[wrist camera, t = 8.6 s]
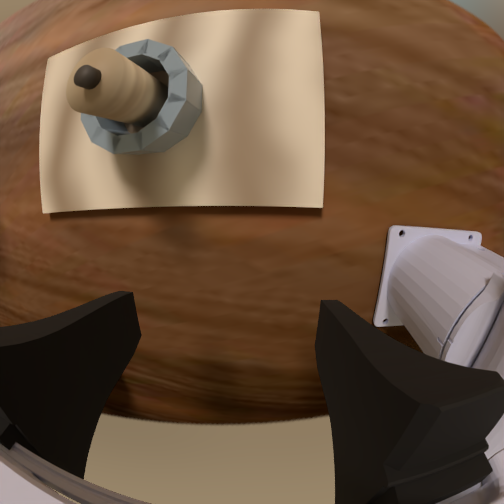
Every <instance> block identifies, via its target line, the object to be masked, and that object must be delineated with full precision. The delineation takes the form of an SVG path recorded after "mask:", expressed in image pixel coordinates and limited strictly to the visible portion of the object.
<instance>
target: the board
mask: <svg viewBox="0 0 504 504" xmlns="http://www.w3.org/2000/svg"><path fill="white" fill-rule="evenodd" d="M145 39H150V40H153V41H156V42H160V43H163V44H166V45H169V46H173V47H174V48H175V49H176V51H177V52H178V53H179V54H180V55H181V56H182V57H183V58H184V60H185V61H186V62H187V63H188V64H189V65H190V67H191V69H192V70H193V72H194V73H195V75H196V76H197V78H198V79H199V81H200V83H201V84H202V112H201V114H200V116H199V117H198V119H197V121H196V122H195V124H194V126H193V128H192V129H191V131H190V133H189V135H188V137H186V138H184V139H183V140H181V141H180V142H178V143H177V144H175V145H174V146H172V147H171V148H170V149H168V150H167V151H165V152H159V153H149V154H140V155H134V154H112V153H111V152H109V151H107V150H105V149H103V148H101V147H100V146H98V145H96V144H94V143H92V142H91V140H90V138H89V136H88V134H87V132H86V130H85V128H84V126H83V124H82V121H81V113H79V112H76V111H74V110H73V109H72V108H71V107H70V105H69V104H68V101H67V97H66V87H67V82H68V79H69V76H70V74H71V72H72V70H73V69H74V67H75V66H76V64H77V63H78V62H79V61H80V60H81V59H82V58H83V57H84V56H85V55H87V54H88V53H90V52H91V51H93V50H96V49H99V48H111V49H114V50H116V49H117V48H118V47H119V46H122V45H126V44H129V43H133V42H137V41H141V40H145ZM149 74H151V75H152V76H154V77H155V78H156V79H158V80H159V81H160V82H162V83H163V84H165V85H166V86H167V87H169V75H168V73H167V72H165V71H159V72H153V73H149ZM124 124H125V126H126V128H127V130H128V132H129V133H131V134H132V133H137V132H139V131H140V130H141V129H143V127H139V126H135V125H131V124H127V123H124ZM324 155H325V110H324V76H323V56H322V41H321V28H320V17H319V12H315V11H304V10H289V9H238V10H223V11H212V12H203V13H196V14H189V15H182V16H177V17H171V18H166V19H161V20H156V21H152V22H148V23H144V24H140V25H136V26H132V27H129V28H125V29H122V30H118V31H115V32H112V33H109V34H106V35H103V36H100V37H97V38H95V39H92V40H89V41H87V42H84V43H82V44H79V45H77V46H74V47H72V48H70V49H67V50H65V51H63V52H61V53H58V54H56V55H54V56H52V57H50V58H48V62H47V68H46V74H45V80H44V88H43V96H42V106H41V119H40V146H39V158H40V186H41V199H42V210H43V213H53V212H65V211H79V210H94V209H112V208H134V207H165V206H282V207H313V208H323V191H324Z"/></svg>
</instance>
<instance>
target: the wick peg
mask: <svg viewBox="0 0 504 504" xmlns="http://www.w3.org/2000/svg"><path fill="white" fill-rule="evenodd" d="M66 97H67V101H68V104H69V105H70V107H71V108H72V109H73V110H74V111H76V112H79V113H84V114H88V115H93V116H98V117H102V118H106V119H111V120H115V121H119V122H123V123H127V124H131V125H135V126H139V127H143V128H144V127H145V126H147V125H148V124H149V123H151V122H152V121H154V120H155V119H156V118H157V116H158V114H159V112H160V111H161V109H162V107H163V105H164V104H165V102H166V100H167V98H168V87H167V86H166V85H165V84H163V83H162V82H160V81H159V80H158V79H156V78H155V77H154V76H152V75H151V74H149V73H148V72H146V71H145V70H144V69H142V68H141V67H139V66H138V65H136V64H135V63H134V62H132V61H131V60H129V59H128V58H126V57H125V56H123V55H122V54H120V53H119V52H117V51H115V50H114V49H111V48H99V49H96V50H93V51H91V52H90V53H88V54H87V55H85V56H84V57H83V58H82V59H81V60H80V61H79V62H78V63H77V64H76V66H75V67H74V69H73V70H72V72H71V74H70V76H69V79H68V82H67V87H66Z"/></svg>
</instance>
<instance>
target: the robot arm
mask: <svg viewBox="0 0 504 504" xmlns="http://www.w3.org/2000/svg"><path fill="white" fill-rule="evenodd" d="M401 230H403V234H402V235H401V236H399V232H400V231H401ZM469 236H470V239H469ZM481 240H482V235H481V233H479V232H476V231H465V230H453V229H441V228H428V227H413V226H398V225H394V226H391V227H390V228H389V231H388V237H387V245H386V252H385V259H384V265H383V272H382V278H381V283H380V289H379V294H378V299H377V304H376V309H375V313H374V318H373V323H374V325H375V326H376V327H385V326H400V325H404V326H405V327H406V329H407V330H408V331H409V333H410V334H411V336H412V337H413V338H414V340H415V341H416V343H417V344H418V345H419V347H420V348H421V350H422V351H423V353H421V352H419V351H416V350H414V349H412V348H410V347H408V346H406V345H404V344H402V343H400V342H398V341H396V340H395V339H393V338H391V337H389V336H388V335H386V334H385V333H383V332H381V331H380V330H378V329H377V328H375V327H374V326H372V325H371V324H370V323H368V322H367V321H365V320H364V319H363V318H361V317H360V316H359V315H357V314H356V313H355V312H353V311H352V310H351V309H349V308H348V307H347V306H345V305H344V304H343V303H341V302H340V301H338V300H321V304H320V312H319V320H318V327H317V334H316V341H315V351H316V360H317V368H318V372H319V376H320V380H321V384H322V388H323V392H324V396H325V399H326V403H327V407H328V411H329V416H330V422H331V428H332V439H333V450H334V464H335V504H504V258H503V257H501V256H499V255H498V254H496V253H494V252H492V251H490V250H488V249H486V248H484V247H482V246H480V245H481ZM384 319H387V320H386V321H385V322H383V320H384ZM140 338H141V331H140V327H139V322H138V317H137V312H136V307H135V302H134V296H133V292H125V291H118V292H114V293H111V294H108V295H105V296H103V297H100V298H98V299H95V300H93V301H90V302H88V303H85V304H83V305H81V306H78V307H76V308H73V309H70V310H68V311H65V312H62V313H60V314H57V315H54V316H51V317H48V318H45V319H41V320H37V321H34V322H29V323H24V324H19V325H13V326H6V327H0V504H76V503H74V502H72V501H70V500H68V499H67V498H65V497H63V496H61V495H59V494H58V493H57V492H56V491H58V492H60V493H62V494H63V495H65V496H67V497H69V498H71V499H73V500H75V501H77V502H79V503H81V504H151V503H147V502H143V501H140V500H136V499H133V498H130V497H127V496H124V495H121V494H118V493H116V492H113V491H110V490H107V489H104V488H102V487H100V486H97V485H95V484H92V483H90V482H88V481H85V480H84V473H85V467H86V462H87V457H88V453H89V449H90V445H91V441H92V438H93V435H94V432H95V429H96V426H97V423H98V420H99V417H100V415H101V413H102V410H103V408H104V405H105V403H106V401H107V399H108V397H109V395H110V393H111V391H112V390H113V388H114V386H115V385H116V383H117V381H118V380H119V378H120V376H121V375H122V373H123V371H124V370H125V368H126V366H127V365H128V363H129V361H130V360H131V358H132V356H133V355H134V352H135V350H136V348H137V345H138V343H139V340H140ZM48 486H49V487H48ZM50 487H51V488H52V489H51V488H50ZM53 489H54V490H56V491H54V490H53Z"/></svg>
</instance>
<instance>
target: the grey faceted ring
mask: <svg viewBox="0 0 504 504" xmlns="http://www.w3.org/2000/svg"><path fill="white" fill-rule="evenodd" d="M115 51H117V52H119V53H120V54H122V55H123V56H125V57H126V58H128V59H129V60H131V61H132V62H134V63H135V64H136V65H138V66H139V67H141V68H142V69H144V70H145V71H146V72H148V73H153V72H159V71H165V72H167V73H168V75H169V87H168V98H167V100H166V102H165V104H164V105H163V107H162V109H161V111H160V112H159V114H158V116H157V118H156V119H155V120H154V121H152V122H151V123H149V124H148V125H147V126H145V127H144V128H143V129H141V130H140V131H139V132H137V133H132V134H131V133H129V132H128V130H127V128H126V126H125V124H124V123H123V122H119V121H115V120H111V119H106V118H102V117H98V116H93V115H88V114H84V113H81V121H82V124H83V126H84V128H85V130H86V132H87V134H88V136H89V138H90V140H91V142H92V143H94V144H96V145H98V146H100V147H101V148H103V149H105V150H107V151H109V152H111V153H112V154H134V155H140V154H149V153H159V152H165V151H167V150H168V149H170V148H171V147H172V146H174V145H175V144H177V143H178V142H180V141H181V140H183V139H184V138H186V137H188V135H189V133H190V131H191V129H192V128H193V126H194V124H195V122H196V121H197V119H198V117H199V116H200V114H201V112H202V84H201V83H200V81H199V79H198V78H197V76H196V75H195V73H194V72H193V70H192V69H191V67H190V65H189V64H188V63H187V62H186V61H185V60H184V58H183V57H182V56H181V55H180V54H179V53H178V52H177V51H176V49H175V48H174V47H173V46H169V45H166V44H163V43H160V42H156V41H153V40H150V39H145V40H141V41H137V42H133V43H129V44H126V45H122V46H119V47H118V48H117V49H116V50H115Z"/></svg>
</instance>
